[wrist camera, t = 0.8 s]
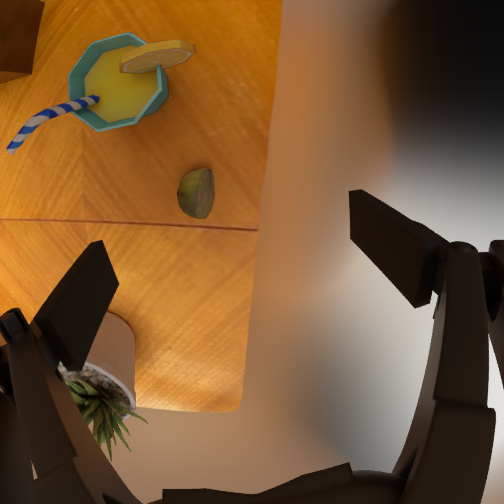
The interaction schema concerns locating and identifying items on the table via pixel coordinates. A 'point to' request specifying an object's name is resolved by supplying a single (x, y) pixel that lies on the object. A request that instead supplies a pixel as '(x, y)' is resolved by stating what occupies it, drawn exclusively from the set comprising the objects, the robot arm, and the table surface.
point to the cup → (115, 83)
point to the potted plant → (106, 380)
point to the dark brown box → (18, 37)
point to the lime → (197, 193)
